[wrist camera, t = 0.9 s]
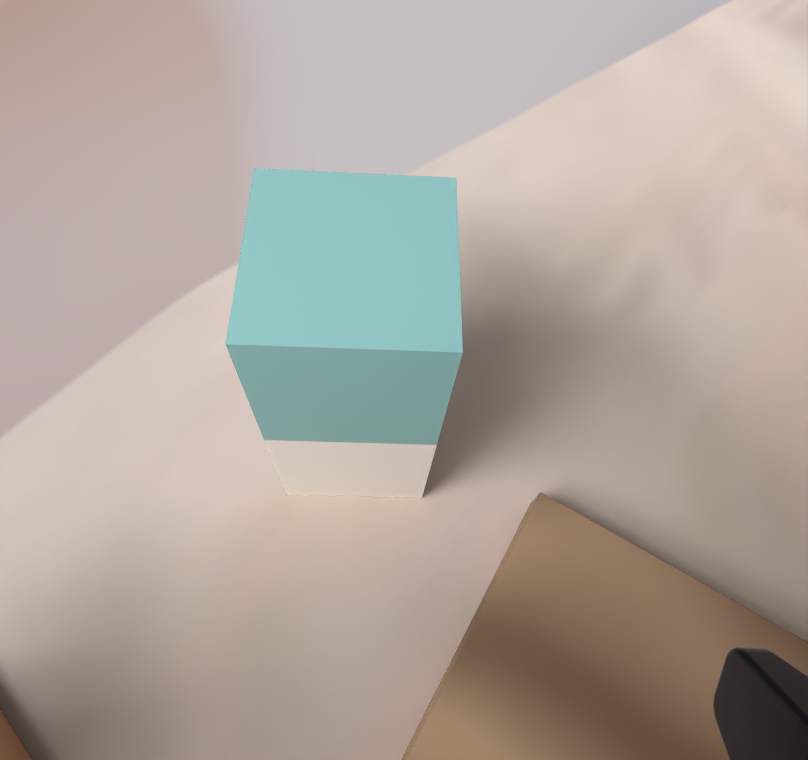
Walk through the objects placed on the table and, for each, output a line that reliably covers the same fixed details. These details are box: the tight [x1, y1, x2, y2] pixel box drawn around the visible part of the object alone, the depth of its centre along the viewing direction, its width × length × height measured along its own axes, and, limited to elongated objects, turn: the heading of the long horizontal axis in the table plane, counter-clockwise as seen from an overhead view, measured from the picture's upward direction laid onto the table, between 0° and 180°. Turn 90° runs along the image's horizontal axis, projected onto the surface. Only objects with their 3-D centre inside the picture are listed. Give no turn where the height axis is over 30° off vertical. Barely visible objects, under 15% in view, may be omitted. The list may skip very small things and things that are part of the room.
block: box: [226, 168, 463, 498], centre depth 19 cm, size 5×5×11 cm
